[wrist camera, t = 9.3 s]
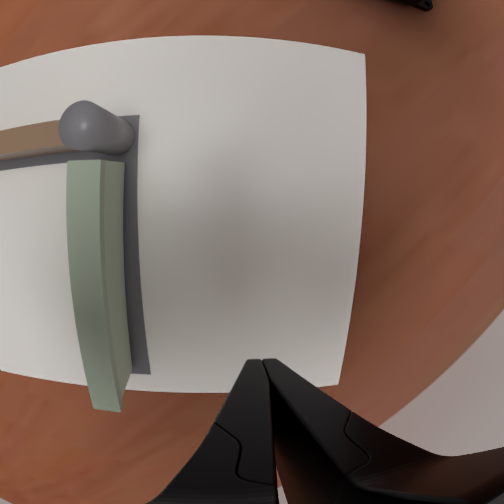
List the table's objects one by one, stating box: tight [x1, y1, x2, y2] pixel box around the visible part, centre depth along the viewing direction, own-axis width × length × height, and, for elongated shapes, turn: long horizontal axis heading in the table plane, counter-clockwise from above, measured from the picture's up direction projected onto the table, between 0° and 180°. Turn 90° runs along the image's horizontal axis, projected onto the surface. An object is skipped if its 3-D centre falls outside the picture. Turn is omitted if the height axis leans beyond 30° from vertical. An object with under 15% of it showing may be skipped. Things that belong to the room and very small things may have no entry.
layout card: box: [0, 36, 366, 393], centre depth 15 cm, size 22×26×6 cm
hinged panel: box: [66, 160, 133, 412], centre depth 15 cm, size 12×2×4 cm, turn 177°
